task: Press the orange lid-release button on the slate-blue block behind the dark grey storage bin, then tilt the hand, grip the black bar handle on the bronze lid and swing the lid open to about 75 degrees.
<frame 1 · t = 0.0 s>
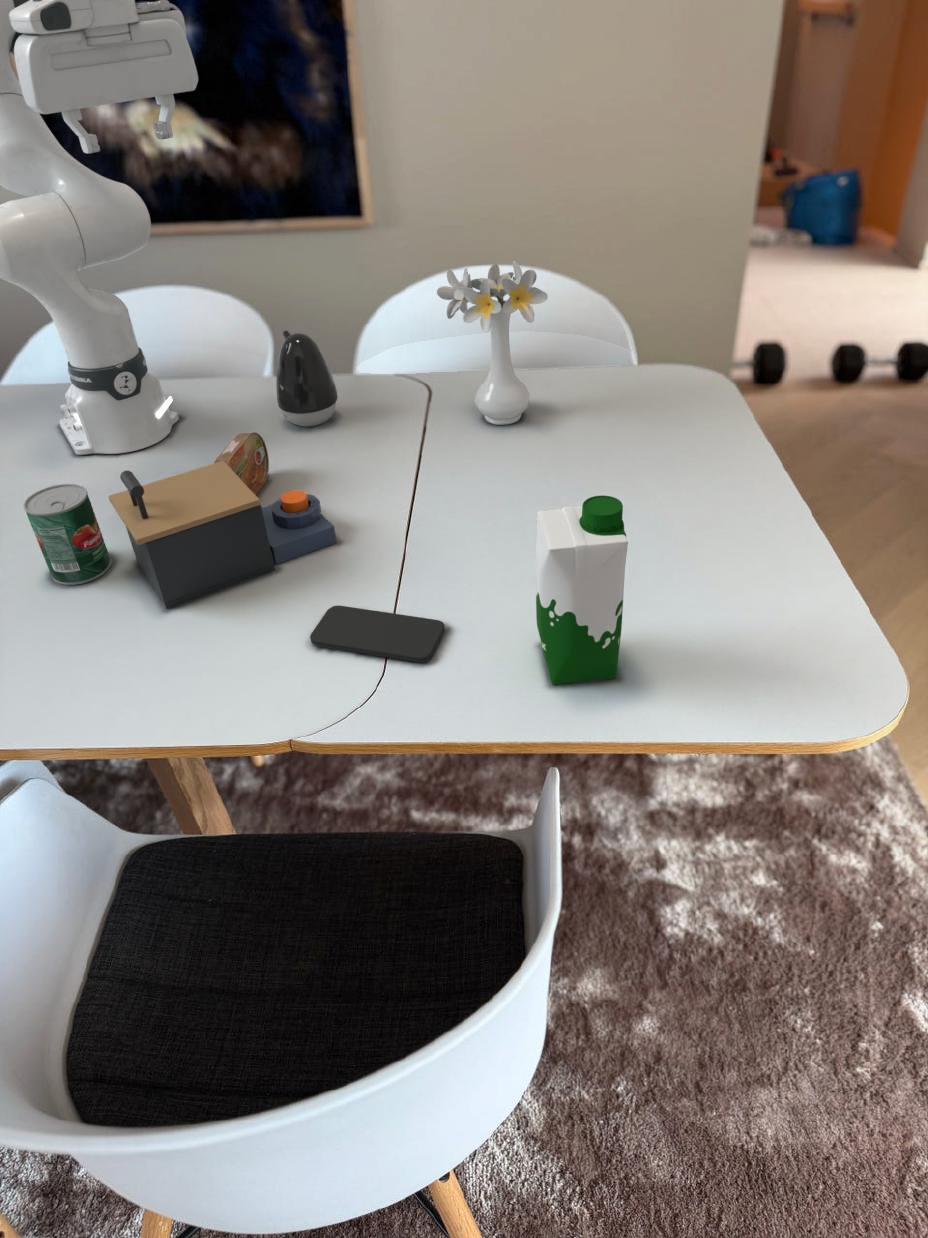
hand: (129, 144, 109), 48 cm above the table, tool pointing down, fingers open, 8 cm apart
release button: (294, 502, 125), point 5 cm above the table, slide at 0.1 cm
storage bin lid: (179, 484, 115), point 13 cm above the table, hinge at 0.0°
canned tomato: (82, 570, 124), on the table
dark grey storage bin: (205, 566, 123), on the table
tin: (246, 497, 138), on the table
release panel: (291, 536, 128), on the table
milk carton: (577, 663, 103), on the table
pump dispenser: (311, 420, 158), on the table
flower vase: (498, 418, 154), on the table
phone: (378, 637, 108), on the table
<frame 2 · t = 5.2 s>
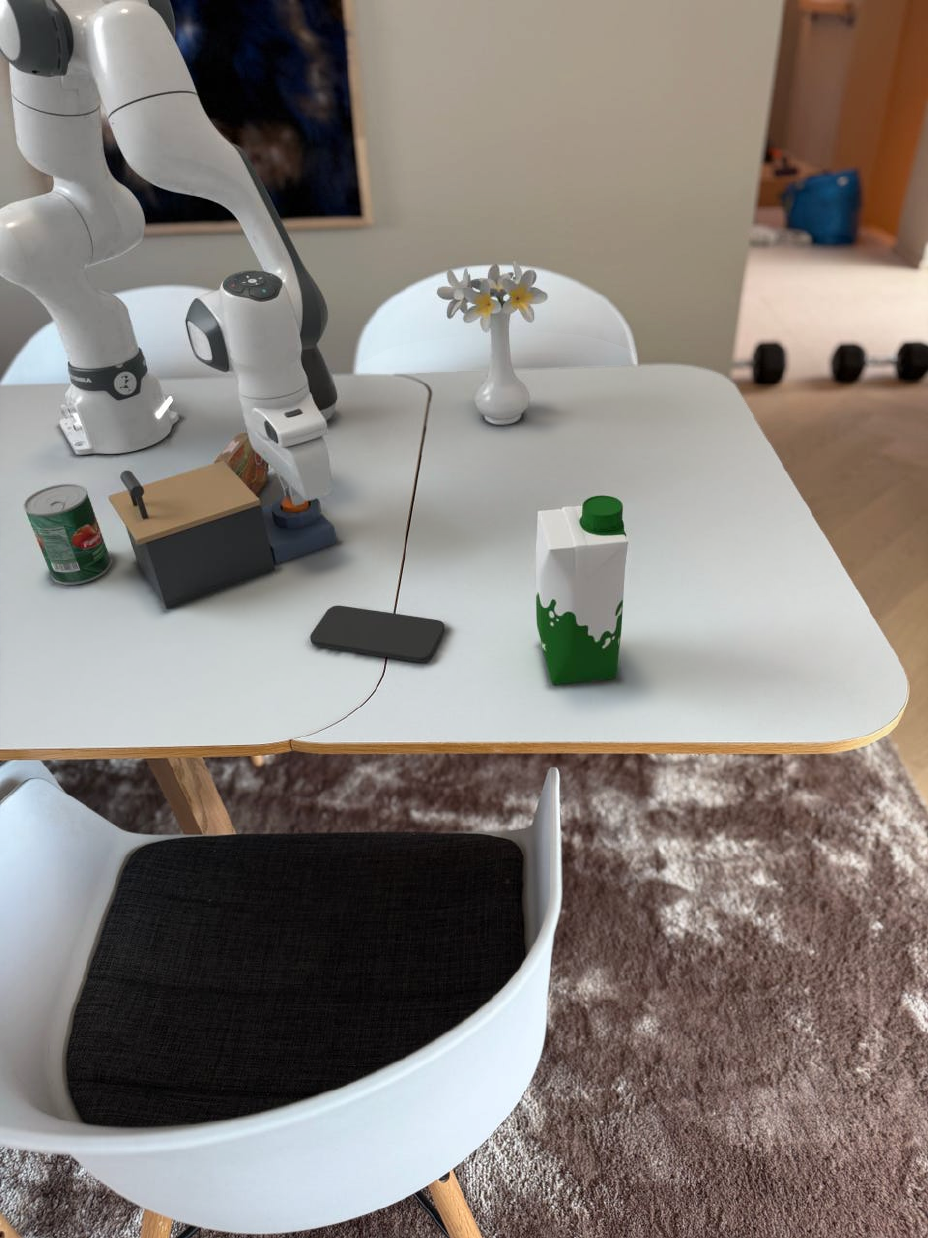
hand: (295, 500, 125), 5 cm above the table, tool pointing down, fingers closed, pressing on release button
release button: (295, 506, 126), point 4 cm above the table, slide at -0.6 cm, touching gripper
everything else where it was.
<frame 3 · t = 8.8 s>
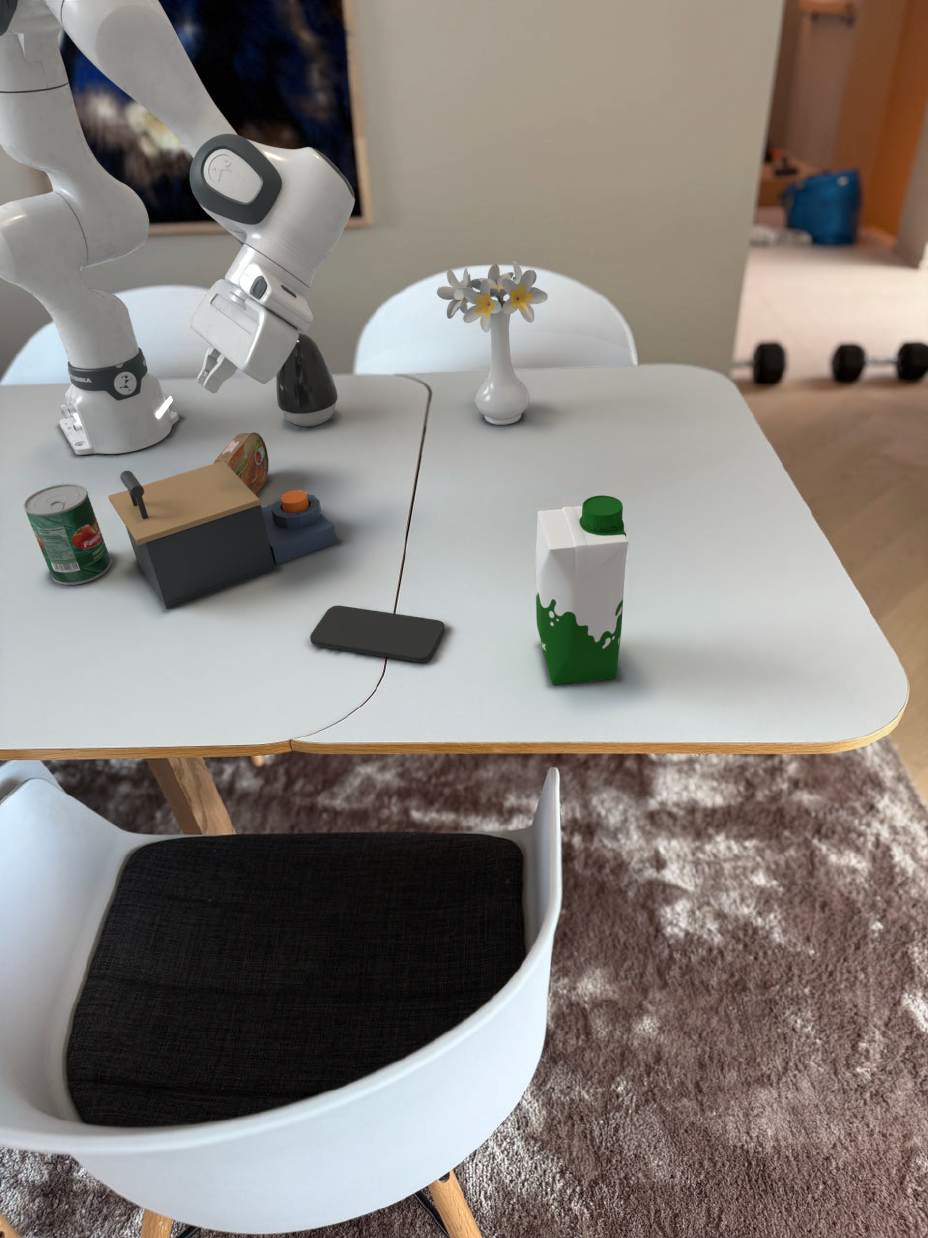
hand: (205, 387, 111), 24 cm above the table, tool tilted 45°, fingers closed
release button: (294, 502, 125), point 5 cm above the table, slide at 0.1 cm
everything else where it was.
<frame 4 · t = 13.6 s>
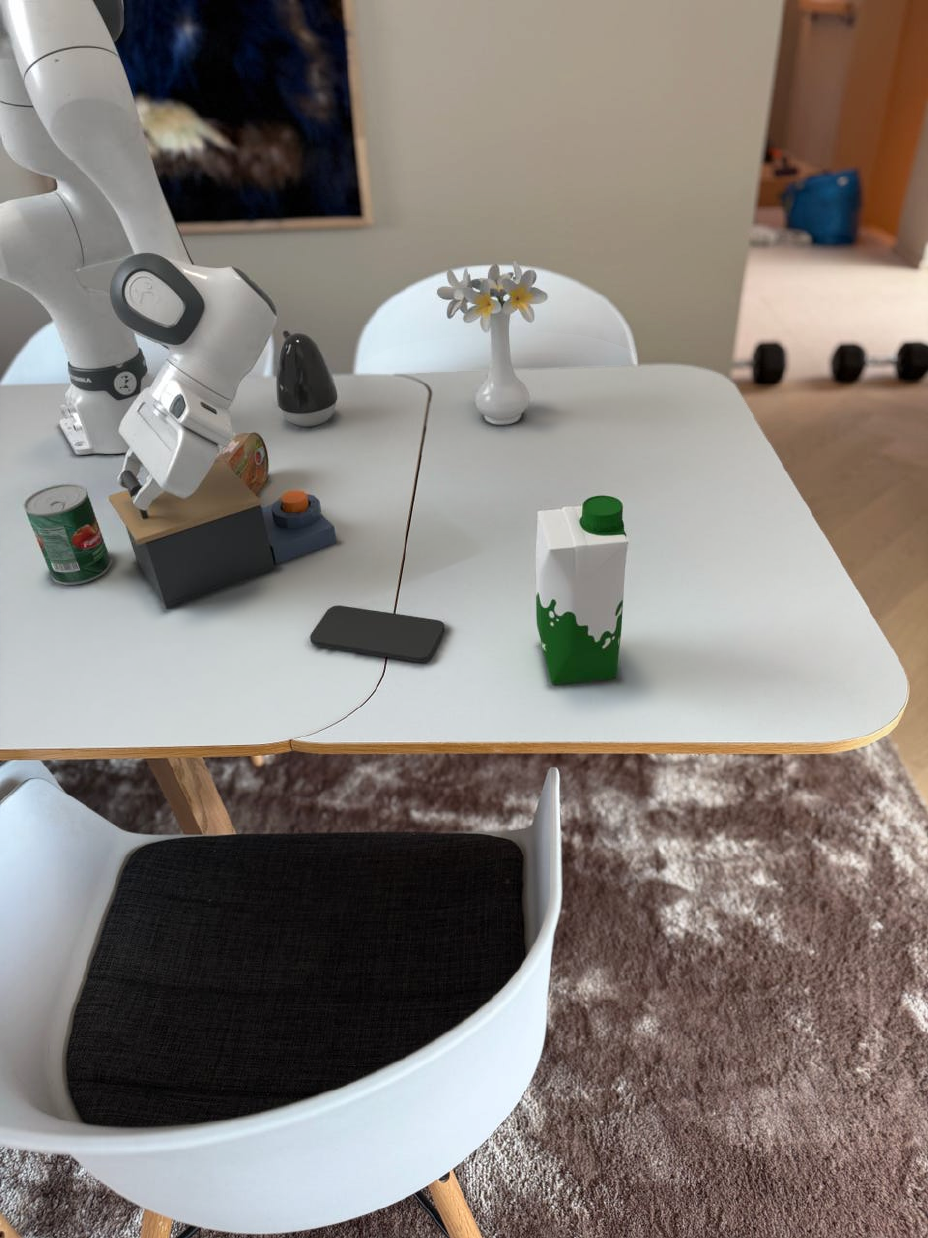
hand: (130, 496, 112), 13 cm above the table, tool tilted 45°, fingers closed on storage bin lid, 5 cm apart
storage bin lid: (179, 484, 115), point 13 cm above the table, hinge at 0.1°, touching gripper
everything else where it was.
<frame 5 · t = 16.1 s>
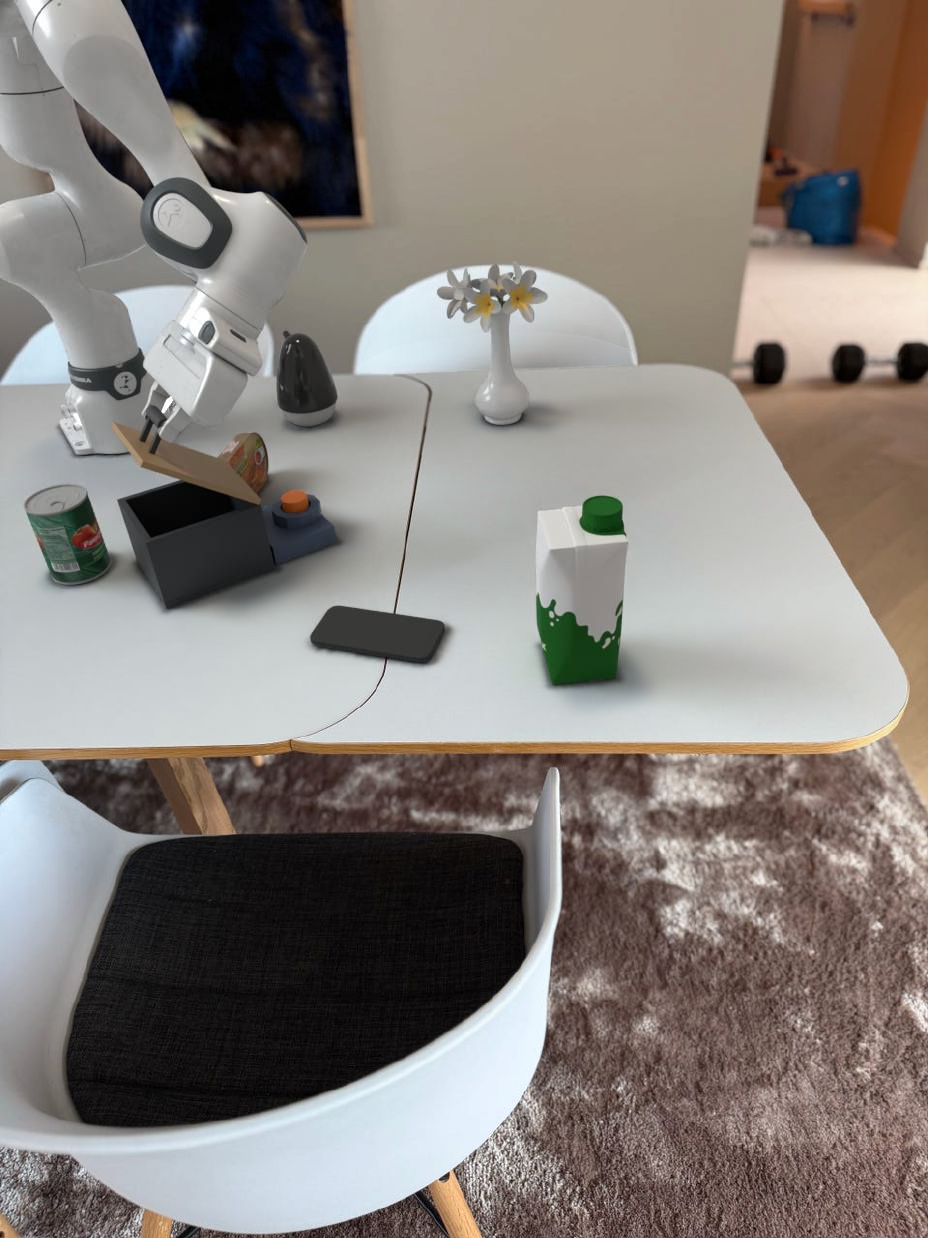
hand: (155, 429, 110), 20 cm above the table, tool tilted 45°, fingers closed on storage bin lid, 5 cm apart
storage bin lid: (193, 447, 114), point 17 cm above the table, hinge at 36.9°, touching gripper
everything else where it was.
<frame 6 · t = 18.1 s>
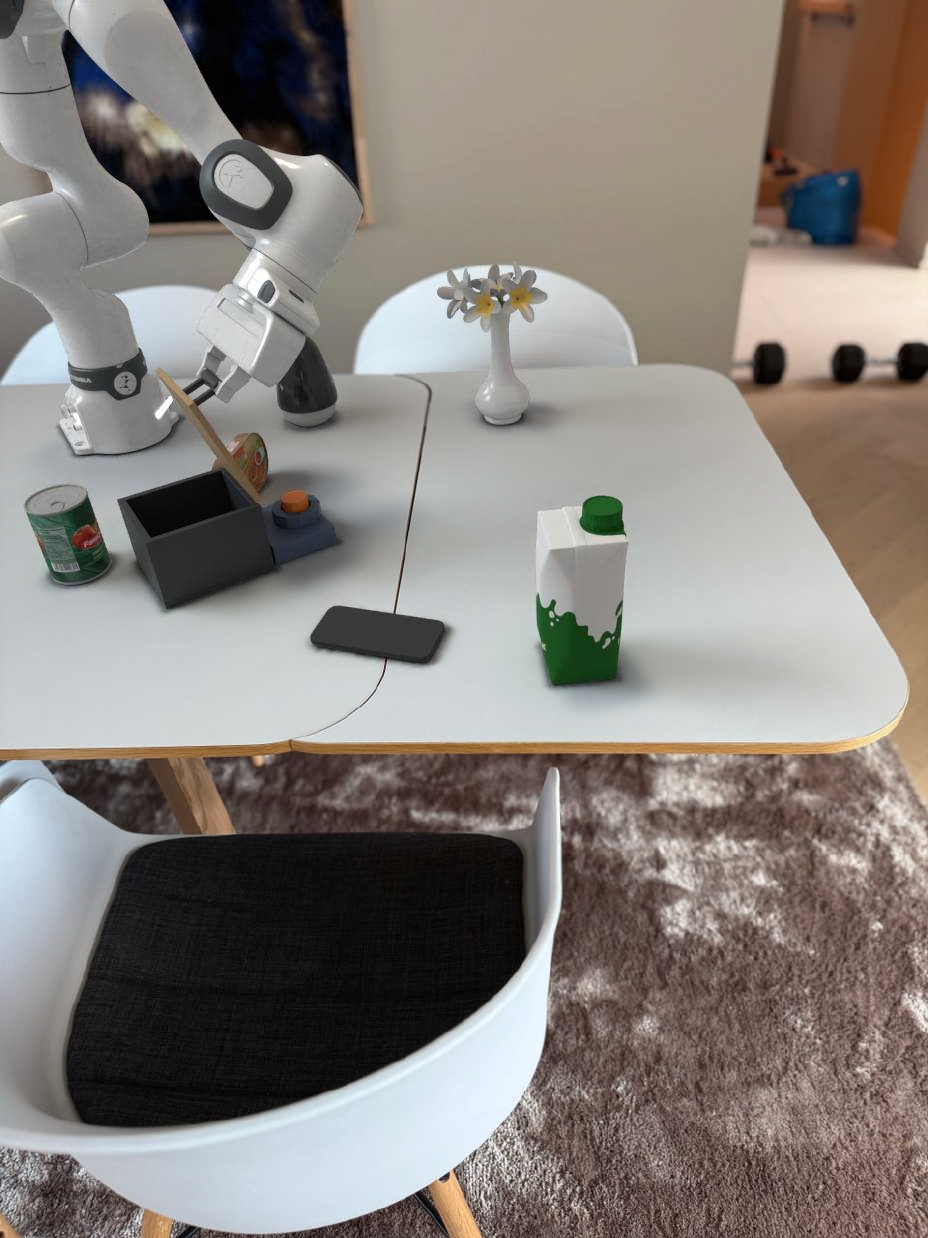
hand: (210, 390, 111), 23 cm above the table, tool tilted 45°, fingers closed on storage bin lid, 5 cm apart
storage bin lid: (224, 425, 114), point 19 cm above the table, hinge at 70.0°, touching gripper
everything else where it was.
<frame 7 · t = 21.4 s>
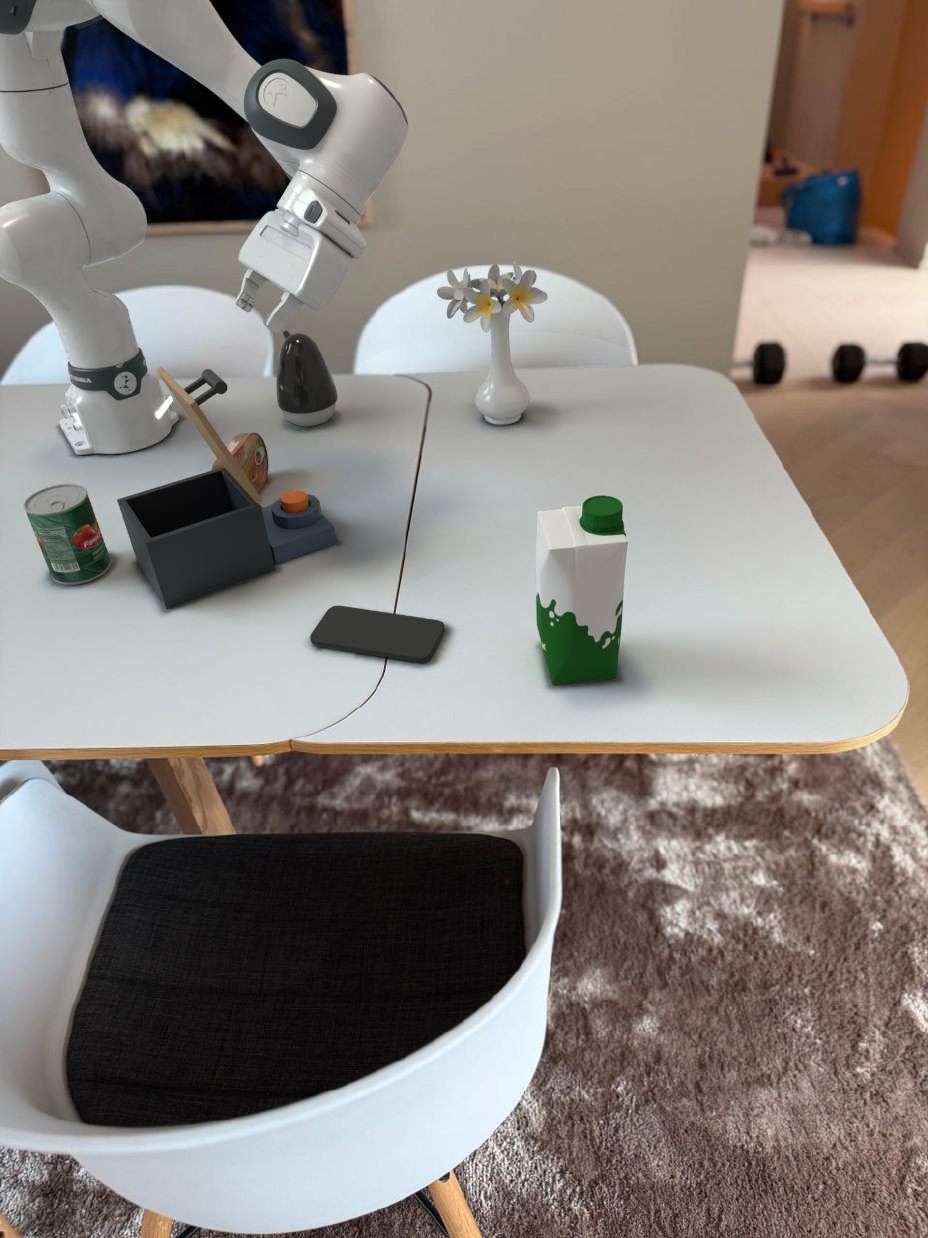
hand: (255, 318, 110), 30 cm above the table, tool tilted 45°, fingers open, 8 cm apart
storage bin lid: (224, 425, 114), point 19 cm above the table, hinge at 70.6°
everything else where it was.
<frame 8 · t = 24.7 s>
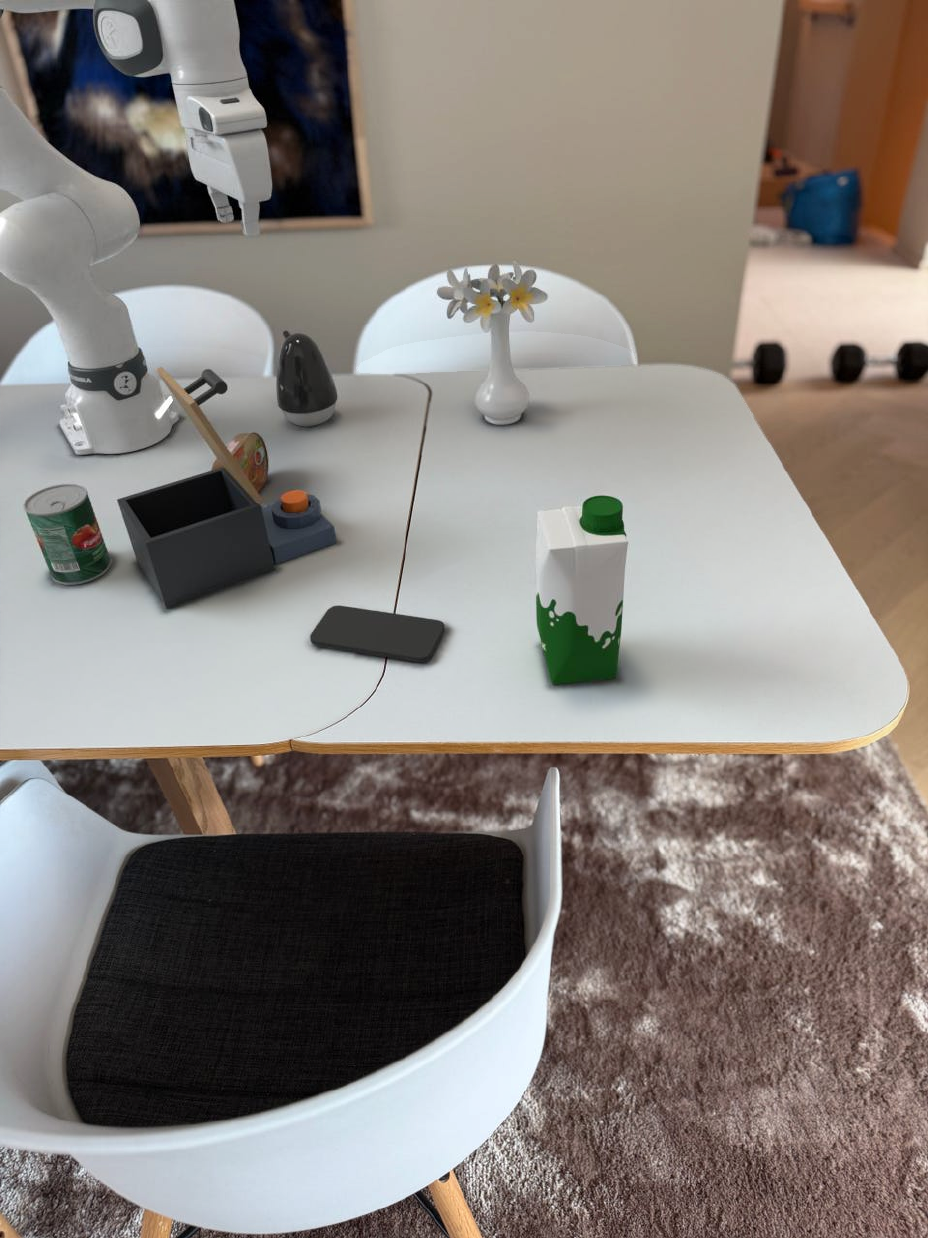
hand: (238, 227, 118), 37 cm above the table, tool pointing down, fingers open, 8 cm apart
nothing on the table moved.
at the end: release button pushed in 1.0 cm at the most during the clip, back to where it started at the end; release button slide at 0.1 cm; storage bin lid at +71° (first picture: +0°) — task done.
